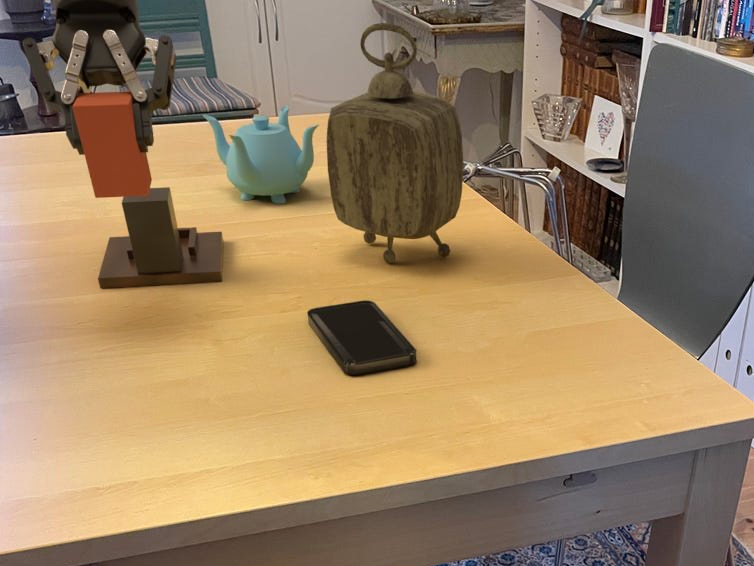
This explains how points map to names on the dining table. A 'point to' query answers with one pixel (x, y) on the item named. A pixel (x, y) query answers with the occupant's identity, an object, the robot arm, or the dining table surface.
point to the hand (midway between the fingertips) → (112, 148)
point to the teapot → (265, 157)
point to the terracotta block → (111, 144)
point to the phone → (361, 337)
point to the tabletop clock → (395, 157)
